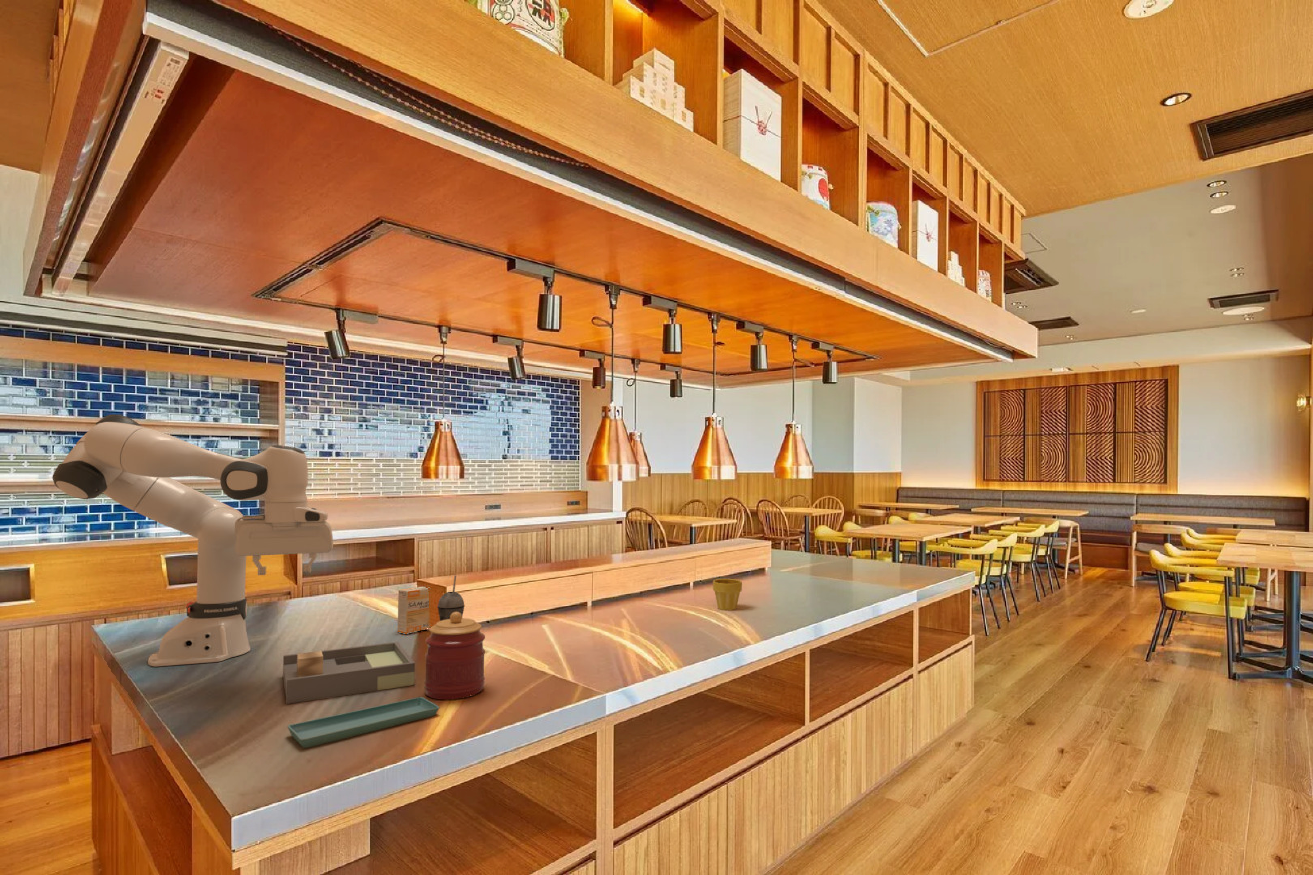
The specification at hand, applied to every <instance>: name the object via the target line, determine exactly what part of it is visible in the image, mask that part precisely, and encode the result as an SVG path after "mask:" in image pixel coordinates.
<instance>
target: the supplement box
mask: <svg viewBox="0 0 1313 875" xmlns="http://www.w3.org/2000/svg"><path fill="white" fill-rule="evenodd" d="M428 588H429V587H428ZM428 588H426V586H418V587H411V588H405V589H398V597H397V598H398V599H397V600H398V602H397V633H398V632H401V633H405V634H407V633H410V632H414V631H420V630H425V629H427V628H429V629H430V611H429V595H428V594H429V592H428V591H429V590H428ZM428 621H429V623H428Z"/></svg>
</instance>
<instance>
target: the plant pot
mask: <svg viewBox="0 0 1313 875" xmlns="http://www.w3.org/2000/svg"><path fill="white" fill-rule="evenodd" d="M742 590H743V582H742V580H740V579H736V578H735V579H734V578H718V579H717V578H716V579H714V580H712V591H714V594H715V599H716V600H715V601H716V605H717V609H719V610H722V611H735V610H736V609H737V607H738V601H739V598H740V594H741V592H742Z"/></svg>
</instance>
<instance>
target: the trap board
mask: <svg viewBox="0 0 1313 875" xmlns="http://www.w3.org/2000/svg"><path fill="white" fill-rule="evenodd" d="M318 651H319V650H317V651H315V652H318ZM321 651H322V654H323V674H319V675H311V676H304V677H298V674H297V654H301V652H300V653H293V654H283V660H282V661H283V662H282V663H283V664H282V665H283V669H282V678H283V687H284V695H285V702H286V705H291V704H296V703H304V702H309V701H317V700H323V699H329V698H337V697H342V696H343V697H344V696H349V695H355V694H363V693H369V692H375V691H376V692H377V691H383V690H389V689H395V688H402V687H408V686H409V687H410V686H414V685H415V674H416V673H415V670H416V669H415V668H416V667H415V664H416V662H415V661H414V660H413V659H412V657H411V656H410V655H409V654H408V653H407V651H406V650H405V649H404V648H403V646H402V645H401V644H400V643H399V641H394V642H393V641H392V642H385V643H377V644H367V645H359V646H350V647H343V648H335V649H326V650H325V649H324V650H321ZM309 652H310V651H309ZM309 652H307V653H309Z"/></svg>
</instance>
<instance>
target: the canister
mask: <svg viewBox="0 0 1313 875" xmlns="http://www.w3.org/2000/svg"><path fill="white" fill-rule="evenodd" d="M481 629H482V624H480V623H478V622H476V620H474V619H473V618H463V615H461V613H459V612H453V613H452V614H451V616H450V619H447V620H442V621H440V620H439V621H437V622H436V623H435V624H434V625H432V626H431V627H429V632H430V633H431V634H430V635H429V636H427V637H426V638H425V641H424V642H425V643H426V645H427V652H426V653H425V654H424V659H425V681H424V690H425V695H426V696H428V697H429V698H431V699H435V700H445V701H446V700H447V701H449V700H460V699H459V698H461V699H464V698H463V697H466V698H468V697H467V696H470V695H473V696H475V695H474V694H476V695H478V694H479V693H478V692H480V691H481V690H482V689H483V690H484V686H485V682H486V681H485V654H486V650H485V648H484V641H485V639H486V635H485V634H484V633H483V632H482V631H480V630H481ZM483 690H482V691H483ZM482 691H481V692H482ZM481 692H480V693H481ZM477 693H478V694H477ZM470 697H471V696H470Z"/></svg>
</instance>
